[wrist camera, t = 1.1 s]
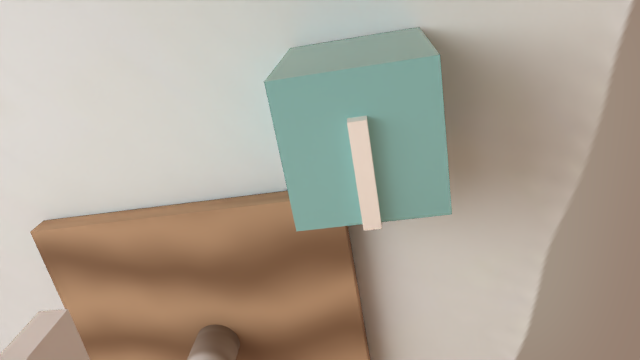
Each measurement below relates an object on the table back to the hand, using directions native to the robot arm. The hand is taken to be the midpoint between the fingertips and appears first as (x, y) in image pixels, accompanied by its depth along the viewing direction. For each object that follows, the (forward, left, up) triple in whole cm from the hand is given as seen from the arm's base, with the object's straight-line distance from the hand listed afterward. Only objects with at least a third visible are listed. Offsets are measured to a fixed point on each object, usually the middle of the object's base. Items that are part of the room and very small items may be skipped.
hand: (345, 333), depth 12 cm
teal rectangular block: (0, 0, -19) cm, 19 cm away
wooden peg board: (+15, -12, -19) cm, 27 cm away
